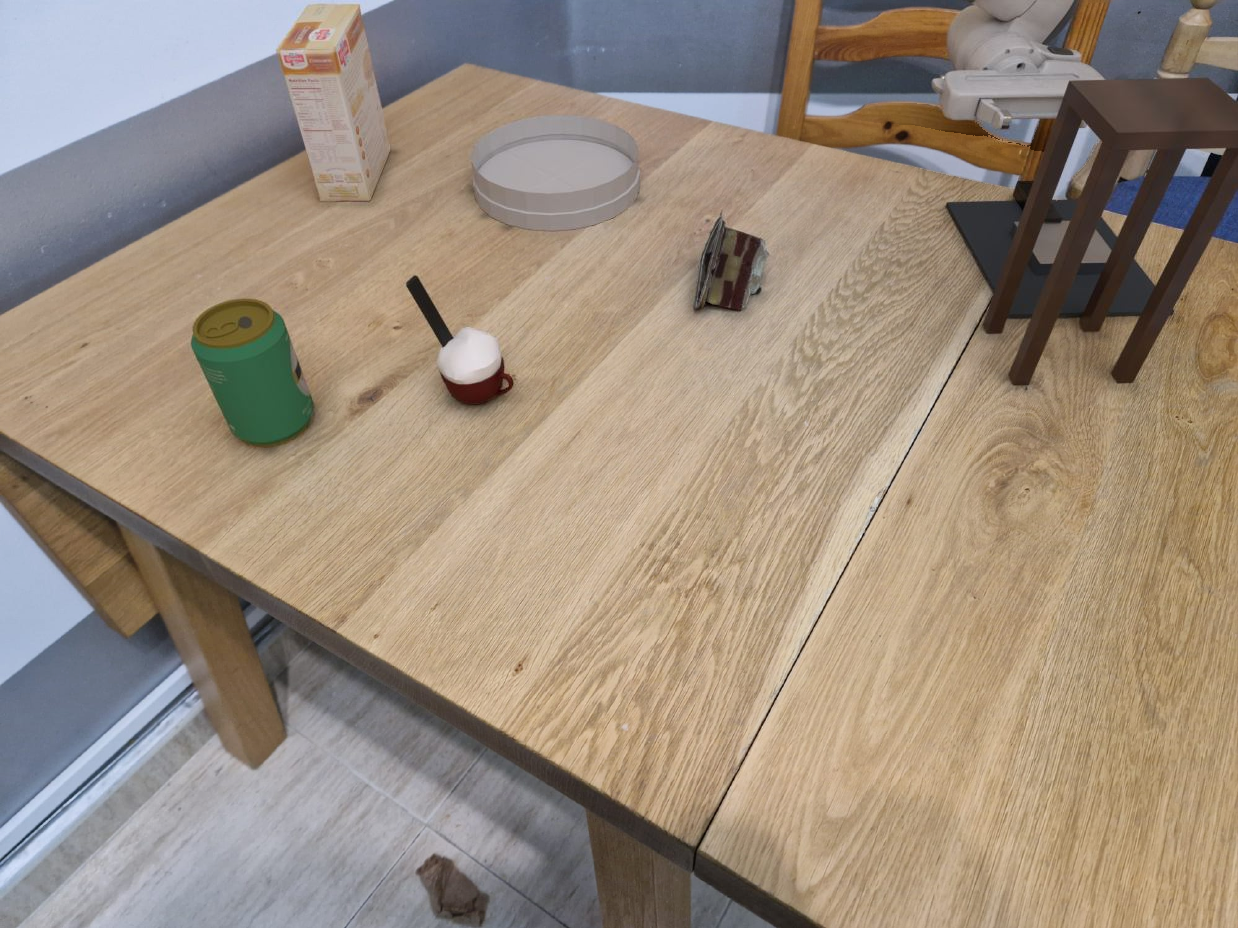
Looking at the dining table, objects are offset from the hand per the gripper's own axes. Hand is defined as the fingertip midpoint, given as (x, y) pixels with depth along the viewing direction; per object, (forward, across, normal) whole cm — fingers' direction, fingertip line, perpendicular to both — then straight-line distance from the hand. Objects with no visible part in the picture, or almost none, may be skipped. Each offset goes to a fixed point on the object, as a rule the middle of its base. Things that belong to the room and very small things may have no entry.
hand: (1043, 123), depth 105 cm
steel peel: (+10, 0, +9) cm, 13 cm away
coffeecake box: (-10, -88, +10) cm, 89 cm away
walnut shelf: (+32, -7, +10) cm, 34 cm away
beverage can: (+40, -86, +10) cm, 95 cm away
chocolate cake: (+19, -39, +10) cm, 45 cm away
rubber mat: (+14, -1, +10) cm, 17 cm away
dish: (-5, -60, +10) cm, 61 cm away
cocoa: (+36, -67, +10) cm, 76 cm away
